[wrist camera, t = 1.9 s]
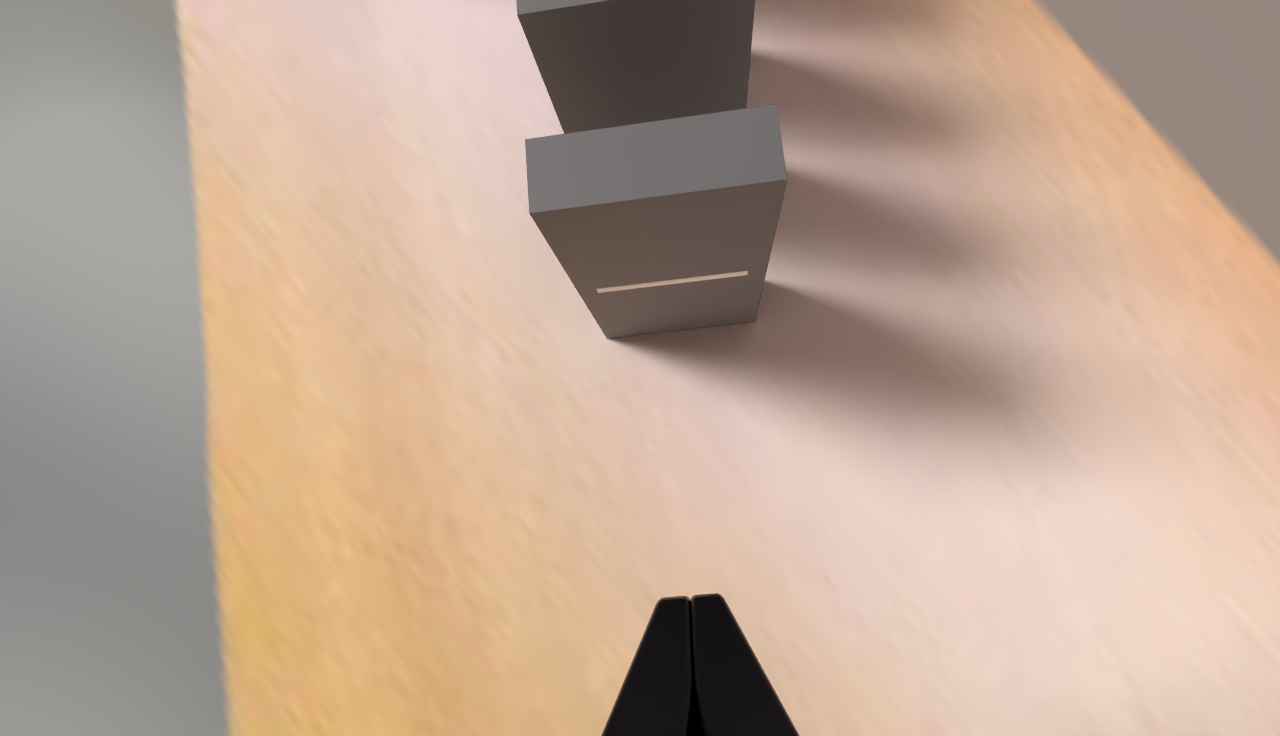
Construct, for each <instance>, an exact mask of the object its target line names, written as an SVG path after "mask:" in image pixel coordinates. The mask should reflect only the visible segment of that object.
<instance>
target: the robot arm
mask: <svg viewBox="0 0 1280 736" xmlns="http://www.w3.org/2000/svg"><path fill="white" fill-rule="evenodd" d="M602 736H799V734H798V732H797V730H796V729H795V727H794V725H793V723H792V721H791V719H790V718H789V716H788V714H787V712H786V710H785V709H784V707H783V705H782V703H781V701H780V699H779V698H778V696H777V694H776V692H775V690H774V688H773V687H772V685H771V683H770V681H769V679H768V678H767V676H766V674H765V672H764V670H763V668H762V667H761V665H760V663H759V661H758V659H757V658H756V656H755V654H754V652H753V650H752V648H751V647H750V645H749V643H748V641H747V639H746V637H745V636H744V634H743V632H742V630H741V628H740V627H739V625H738V623H737V621H736V619H735V617H734V616H733V614H732V612H731V610H730V608H729V606H728V605H727V603H726V601H725V599H724V598H723V597H722V596H721V595H720V594H718V593H714V594H702V595H695V596H693V597H692V598H691V601H690V599H689V598H688V597H687V596H677V597H665V598H661V599H660V600H659V601H658V602H657V604H656V606H655V608H654V611H653V613H652V615H651V618H650V620H649V623H648V625H647V627H646V630H645V632H644V635H643V637H642V640H641V642H640V644H639V647H638V649H637V652H636V654H635V656H634V659H633V661H632V664H631V666H630V668H629V671H628V673H627V676H626V678H625V680H624V683H623V685H622V688H621V690H620V692H619V695H618V697H617V700H616V702H615V704H614V707H613V709H612V712H611V714H610V716H609V719H608V721H607V724H606V726H605V728H604V731H603V733H602Z"/></svg>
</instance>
